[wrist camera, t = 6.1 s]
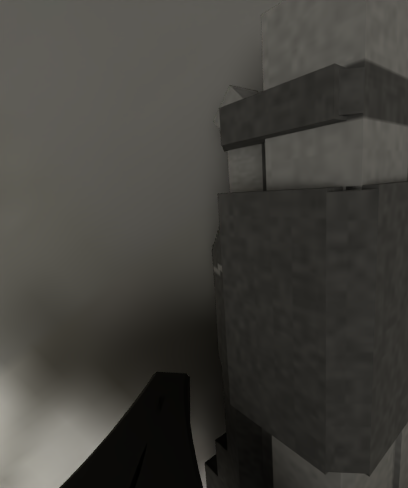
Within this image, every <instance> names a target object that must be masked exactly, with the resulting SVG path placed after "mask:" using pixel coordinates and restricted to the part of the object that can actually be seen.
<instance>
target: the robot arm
mask: <svg viewBox="0 0 408 488" xmlns="http://www.w3.org/2000/svg"><path fill="white" fill-rule="evenodd" d="M60 488H203V486H202V482H201V478H200V474H199V469H198V464H197V460H196V455H195V450H194V445H193V439H192V432H191V426H190V377H189V376H188V375H187V374H186V373H170V372H156V373H155V374H154V375H153V376H152V378H151V379H150V381H149V382H148V384H147V385H146V387H145V388H144V390H143V391H142V392H141V394H140V395H139V396H138V398H137V399H136V400H135V402H134V403H133V404H132V406H131V407H130V408H129V410H128V411H127V412H126V413H125V415H124V416H123V417H122V418H121V420H120V421H119V422H118V424H117V425H116V426H115V427H114V428H113V430H112V431H111V432H110V433H109V434H108V436H107V437H106V438H105V439H104V440H103V441H102V442H101V444H100V445H99V446H98V447H97V448H96V449H95V450H94V452H93V453H92V454H91V455H90V456H89V457H88V458H87V459H86V461H85V462H84V463H83V464H82V465H81V466H80V467H79V468H78V469H77V470H76V471H75V472H74V473H73V474H72V475H71V476H70V477H69V479H68V480H67V481H66V482H65V483H64V484H63V485H62V486H61V487H60Z"/></svg>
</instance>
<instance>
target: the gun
mask: <svg viewBox="0 0 408 488" xmlns="http://www.w3.org/2000/svg"><path fill="white" fill-rule="evenodd" d="M261 30H262V62H263V91H262V92H258V91H255V90H250V89H245V88H241V87H236V86H231V85H230V86H229V88H228V90H227V92H226V95H225V97H224V99H223V101H222V103H221V106H220V108H219V110H218V112H217V114H216V116H215V119H214V121H213V122H214V123H215V125H216V126H217V127H218V128H219V129H220V134H221V146H222V147H223V149H224V151H228V168H229V187H230V193H221V194H218V209H219V230H218V234H217V235H216V237H217V238H215V242H214V245H213V249H212V257H213V272H214V287H215V303H216V318H217V333H218V348H219V359H220V361H221V362H222V373H223V388H224V404H225V419H226V433H224V434H223V435H222V436H220V437H219V438H218V439H216V440H215V442H216V454H215V455H214V456H213V457H212V458H210V459H209V460H208V461H206V462H205V471H206V484H207V488H408V0H284V1H282V2H281V3H279V4H278V5H276V6H275V7H273V8H271V9H270V10H268V11H267V12H265V13H264V14H262V15H261Z"/></svg>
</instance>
